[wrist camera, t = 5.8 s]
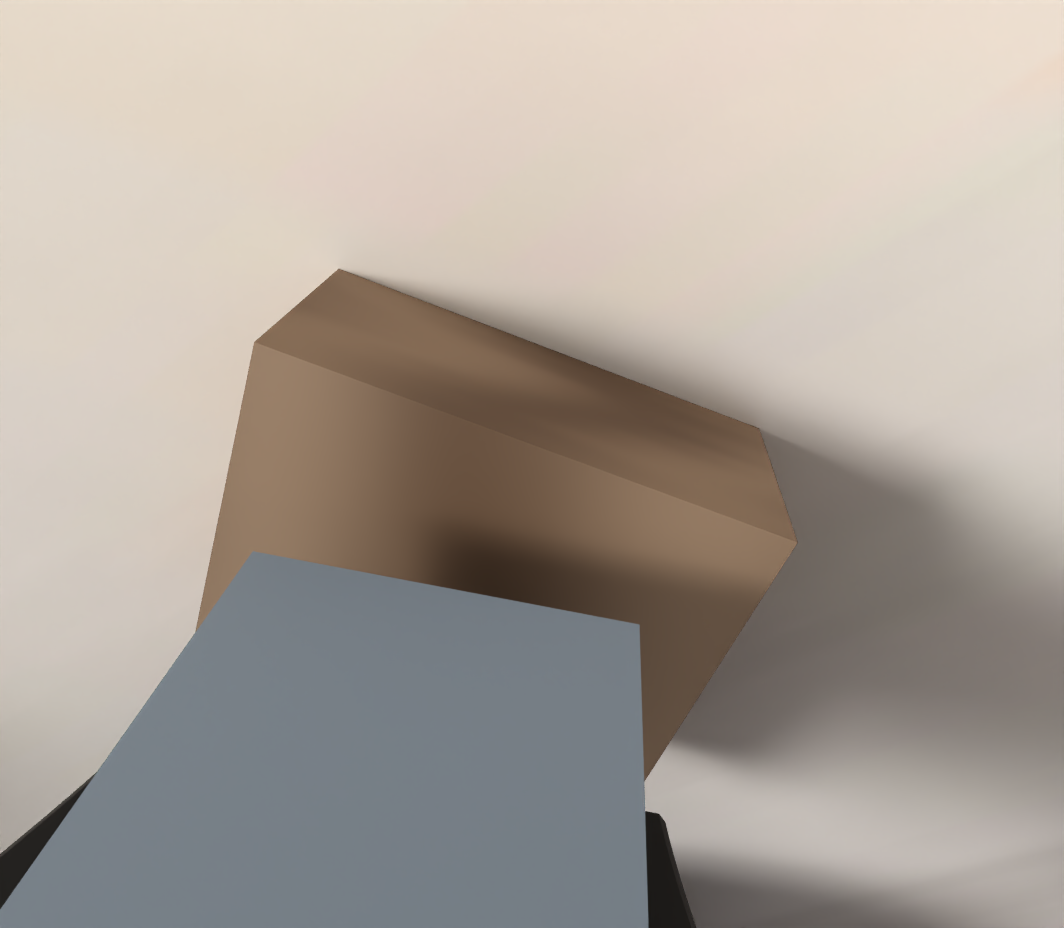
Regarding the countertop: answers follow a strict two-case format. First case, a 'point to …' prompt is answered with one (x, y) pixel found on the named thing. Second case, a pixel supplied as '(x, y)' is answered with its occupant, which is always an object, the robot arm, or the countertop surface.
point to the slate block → (365, 770)
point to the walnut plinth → (501, 480)
